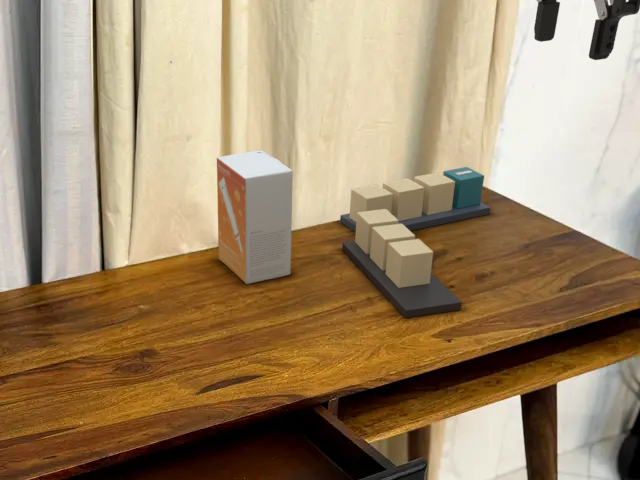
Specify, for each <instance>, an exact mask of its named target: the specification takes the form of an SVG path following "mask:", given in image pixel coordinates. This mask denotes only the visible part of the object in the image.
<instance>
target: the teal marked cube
mask: <svg viewBox="0 0 640 480" xmlns="http://www.w3.org/2000/svg"><path fill="white" fill-rule="evenodd" d="M442 175H444V176H446V177H448V178H450V179H451V180H453V181H455V187H454V195H453V203H452V206H453V207H455V208H457V209H458V208H463V207H468V206H473V205H477V204H480V202H482V195H483V187H484V182H485V181H484V180H485V175H484V174H482V173H480V172H478V171H476V170H474V169H472V168H470V167H468V166H464V167H459V168H455V169H447V170H444V171H443V173H442Z"/></svg>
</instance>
